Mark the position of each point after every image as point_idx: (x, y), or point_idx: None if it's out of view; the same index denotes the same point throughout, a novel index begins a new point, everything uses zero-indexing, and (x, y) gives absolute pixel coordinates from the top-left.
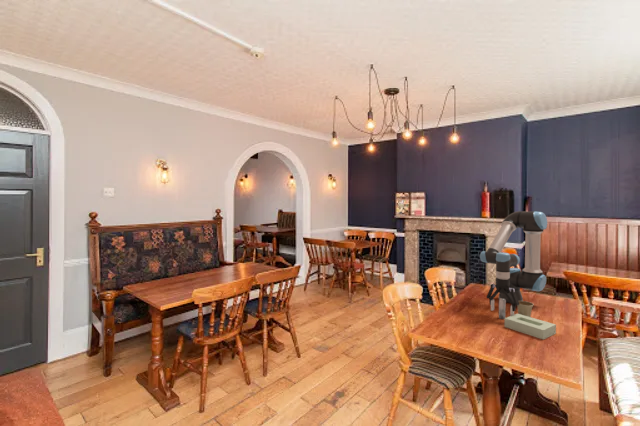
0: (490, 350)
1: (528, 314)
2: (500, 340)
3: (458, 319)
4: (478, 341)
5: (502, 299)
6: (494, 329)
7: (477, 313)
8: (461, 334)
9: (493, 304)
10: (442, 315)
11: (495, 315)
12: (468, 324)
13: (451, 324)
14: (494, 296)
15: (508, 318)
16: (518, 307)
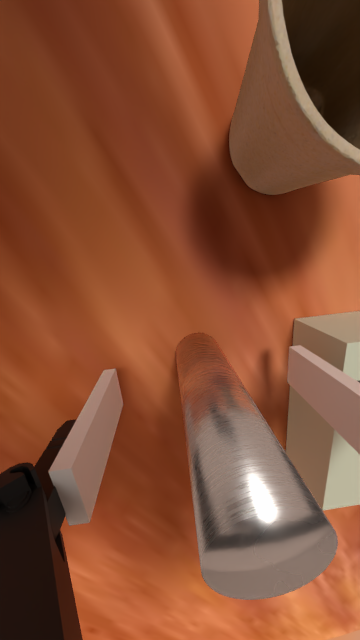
0: (351, 614)
1: (356, 141)
2: (342, 557)
3: (98, 560)
4: (296, 608)
5: (287, 573)
6: None
7: (53, 423)
8: (228, 620)
9: (101, 425)
10: None
11: (136, 346)
12: (170, 559)
13: (136, 605)
14: (69, 610)
15: (342, 494)
16: (303, 163)
